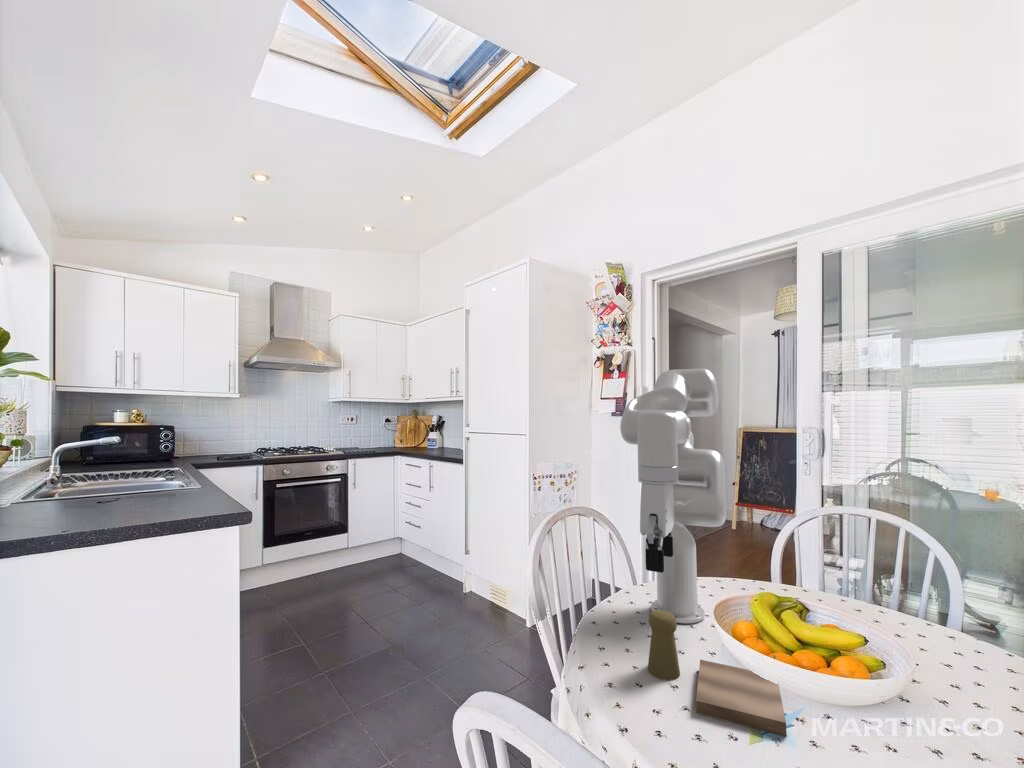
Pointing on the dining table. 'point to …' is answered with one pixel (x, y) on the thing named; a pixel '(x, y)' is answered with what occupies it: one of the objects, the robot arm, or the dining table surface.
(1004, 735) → the dining table surface
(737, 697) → the walnut board
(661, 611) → the olive pawn
